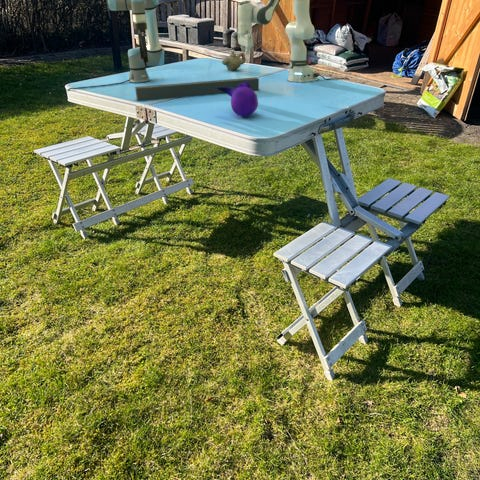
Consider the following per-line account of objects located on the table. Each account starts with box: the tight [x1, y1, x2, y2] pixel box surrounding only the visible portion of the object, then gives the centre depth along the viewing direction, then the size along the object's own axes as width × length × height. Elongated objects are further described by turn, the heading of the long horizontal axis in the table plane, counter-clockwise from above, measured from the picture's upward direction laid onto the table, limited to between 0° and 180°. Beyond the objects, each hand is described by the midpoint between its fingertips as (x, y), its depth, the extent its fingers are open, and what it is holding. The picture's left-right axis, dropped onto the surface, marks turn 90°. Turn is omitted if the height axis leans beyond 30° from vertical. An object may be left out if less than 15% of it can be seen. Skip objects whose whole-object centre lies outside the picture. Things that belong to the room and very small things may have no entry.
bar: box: [134, 76, 260, 102], centre depth 294 cm, size 81×6×8 cm, turn 107°
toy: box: [217, 82, 259, 118], centre depth 249 cm, size 16×18×27 cm
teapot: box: [221, 50, 246, 72], centre depth 367 cm, size 21×12×15 cm, turn 120°
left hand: (144, 60), depth 276 cm, fingers open, 13 cm apart
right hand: (245, 53), depth 292 cm, fingers open, 8 cm apart
